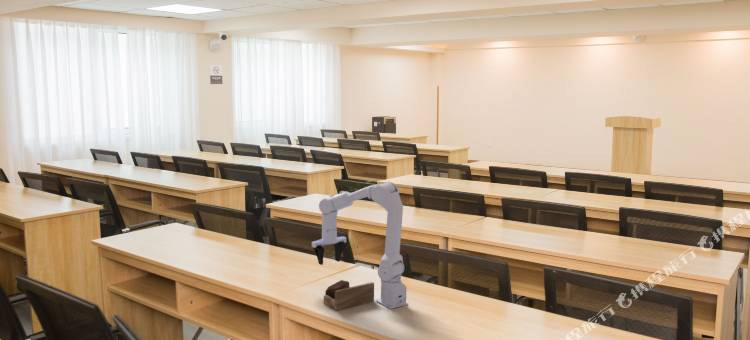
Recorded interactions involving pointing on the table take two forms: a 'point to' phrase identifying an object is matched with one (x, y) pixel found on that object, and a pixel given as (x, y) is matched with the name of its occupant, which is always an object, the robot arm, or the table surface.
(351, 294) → the book rack
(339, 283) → the brick
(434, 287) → the table surface
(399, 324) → the table surface
